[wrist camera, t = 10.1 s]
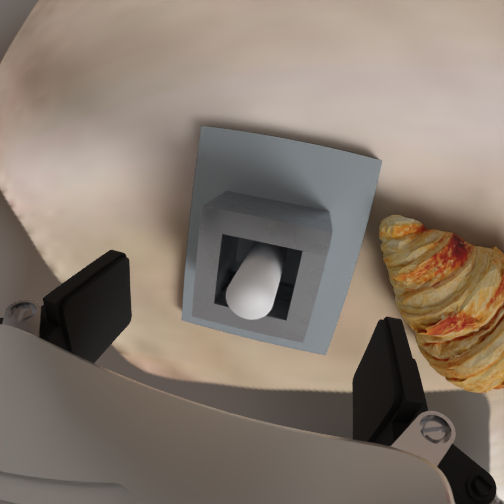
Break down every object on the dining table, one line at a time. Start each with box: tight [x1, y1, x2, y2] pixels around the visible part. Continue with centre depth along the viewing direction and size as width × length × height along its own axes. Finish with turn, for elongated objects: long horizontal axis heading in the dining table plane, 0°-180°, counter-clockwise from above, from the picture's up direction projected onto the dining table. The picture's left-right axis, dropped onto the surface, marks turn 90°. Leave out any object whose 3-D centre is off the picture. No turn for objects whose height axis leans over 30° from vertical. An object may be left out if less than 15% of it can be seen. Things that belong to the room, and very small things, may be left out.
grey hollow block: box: [192, 191, 333, 343], centre depth 19 cm, size 6×6×4 cm
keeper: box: [182, 126, 382, 355], centre depth 18 cm, size 14×11×8 cm
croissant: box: [379, 215, 504, 393], centre depth 18 cm, size 21×10×8 cm, turn 56°
